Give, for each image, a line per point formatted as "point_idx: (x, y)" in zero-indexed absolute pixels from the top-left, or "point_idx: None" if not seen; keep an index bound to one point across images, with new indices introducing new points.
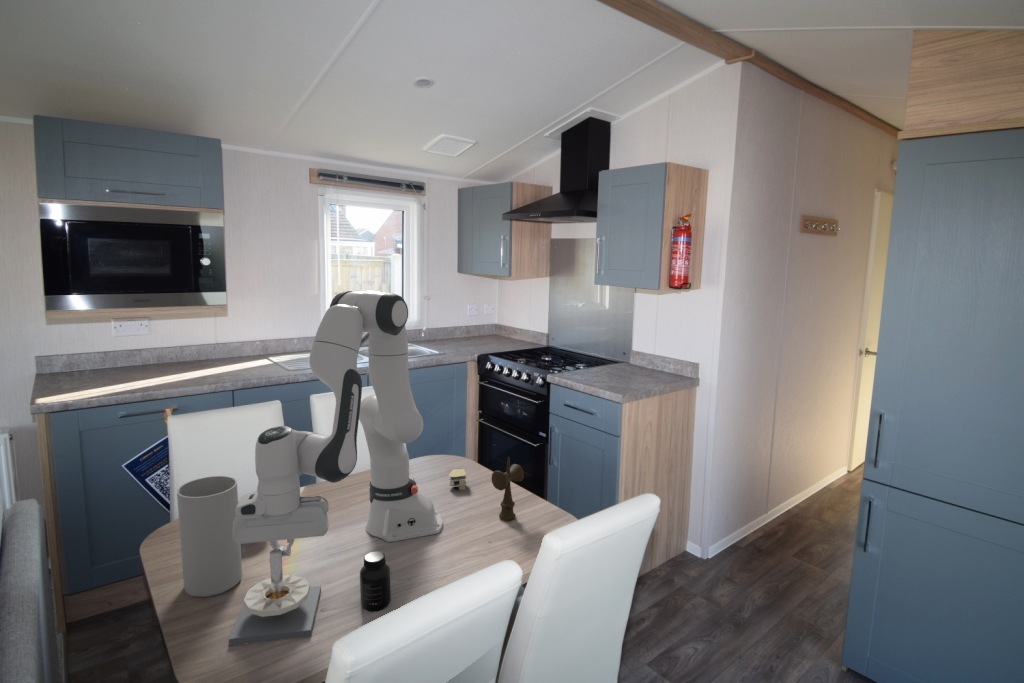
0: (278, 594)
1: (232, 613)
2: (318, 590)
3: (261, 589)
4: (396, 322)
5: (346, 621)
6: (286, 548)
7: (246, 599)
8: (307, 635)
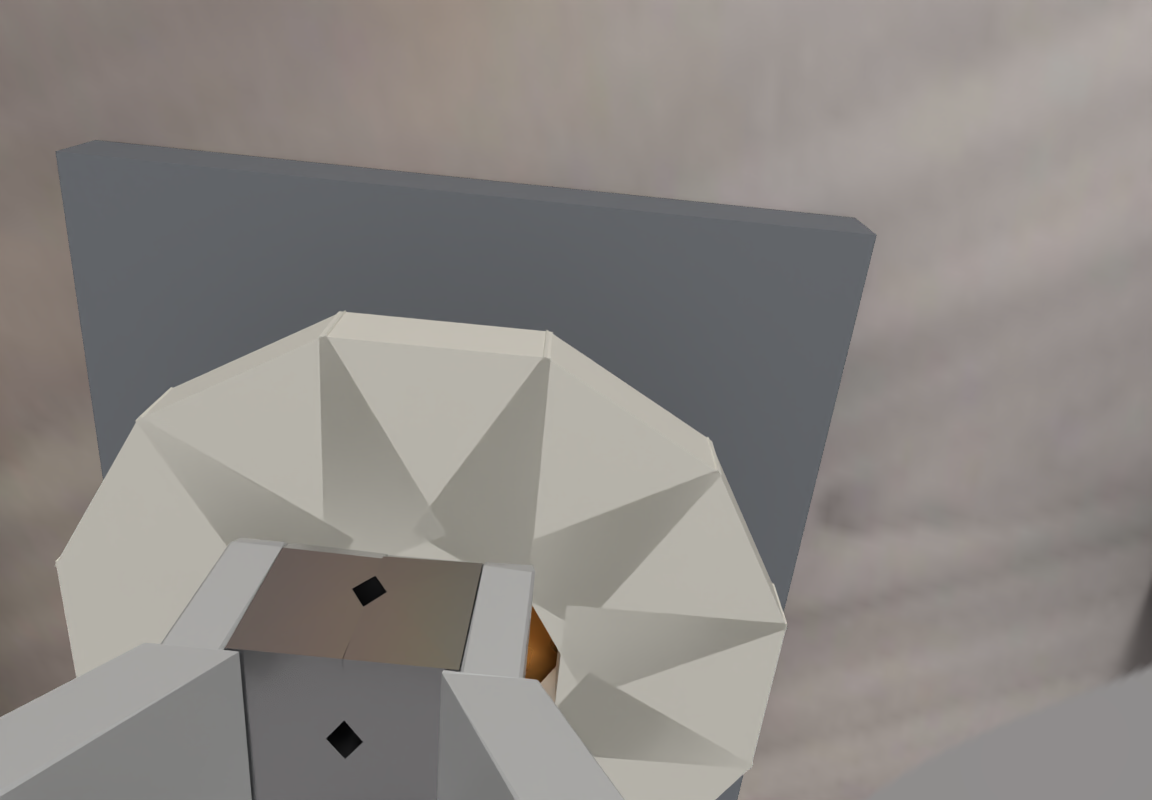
0: None
1: (23, 354)
2: (840, 320)
3: None
4: None
5: (998, 684)
6: (433, 768)
7: None
8: None
